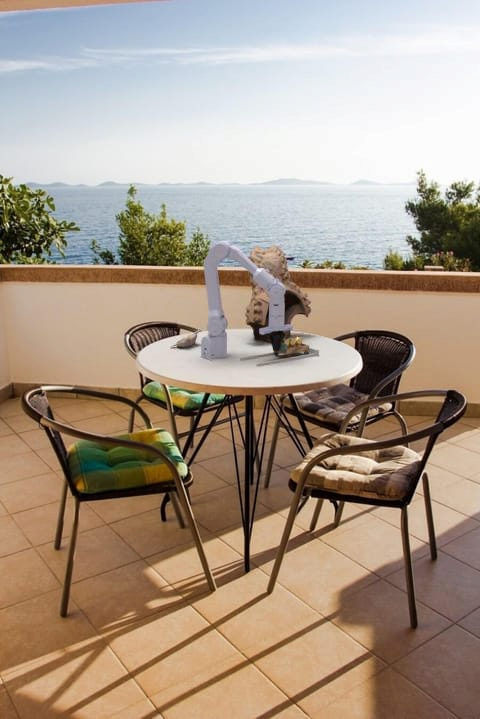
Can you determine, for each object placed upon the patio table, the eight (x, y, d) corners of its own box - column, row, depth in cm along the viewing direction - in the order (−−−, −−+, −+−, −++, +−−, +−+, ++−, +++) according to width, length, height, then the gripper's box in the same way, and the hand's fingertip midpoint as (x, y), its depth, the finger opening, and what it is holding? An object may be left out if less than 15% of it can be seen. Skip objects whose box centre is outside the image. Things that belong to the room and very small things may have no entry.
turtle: (192, 358, 266) (200, 335, 264) (169, 350, 264) (178, 327, 262) (192, 348, 281) (200, 326, 279) (171, 340, 280) (179, 319, 277)
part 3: (297, 348, 253) (298, 338, 252) (292, 347, 256) (293, 337, 255) (303, 347, 255) (304, 337, 254) (298, 346, 257) (299, 336, 256)
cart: (286, 360, 247) (286, 344, 246) (271, 355, 254) (272, 340, 253) (310, 355, 254) (310, 340, 253) (295, 351, 261) (296, 336, 259)
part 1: (284, 351, 250) (284, 340, 249) (279, 349, 252) (279, 339, 251) (290, 350, 251) (290, 339, 250) (285, 348, 254) (285, 338, 253)
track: (258, 368, 238) (258, 360, 237) (239, 361, 248) (239, 353, 247) (318, 357, 254) (318, 349, 254) (298, 351, 264) (298, 344, 263)
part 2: (291, 349, 251) (291, 339, 250) (286, 348, 254) (286, 338, 253) (297, 348, 253) (297, 338, 252) (292, 347, 255) (292, 337, 255)
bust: (287, 330, 304) (289, 242, 294) (315, 336, 291) (318, 244, 281) (229, 340, 282) (229, 245, 272) (256, 348, 269) (257, 248, 259)
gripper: (267, 318, 239) (267, 355, 242) (298, 314, 247) (297, 350, 250) (256, 315, 244) (255, 351, 247) (286, 312, 252) (285, 346, 256)
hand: (275, 350), depth 249 cm, fingers closed
